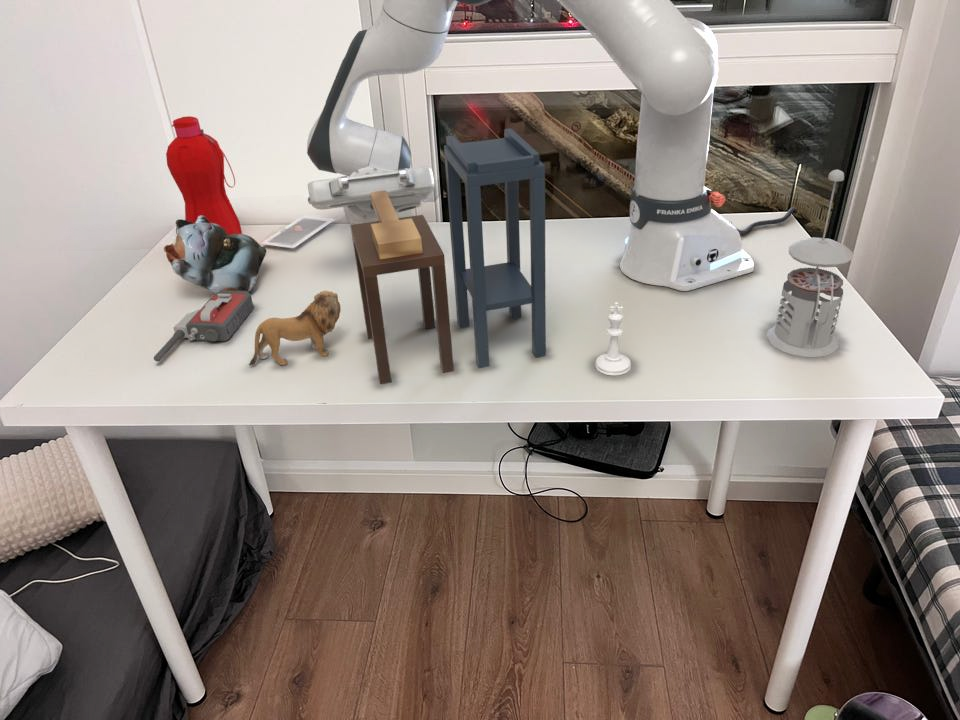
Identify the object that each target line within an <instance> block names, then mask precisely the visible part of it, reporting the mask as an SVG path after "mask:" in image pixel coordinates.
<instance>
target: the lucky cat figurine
mask: <svg viewBox="0 0 960 720" xmlns="http://www.w3.org/2000/svg"><path fill="white" fill-rule="evenodd" d="M175 225H176V226H175V238H174V239H175V240H174V241H173V243H170V244H166V245H165V246H164V247H163V251H164V253H166V254H165V255H166V259H167V261H168V262H169V263H170V266H171V268H172V271H173V273H174V274H176V275H178V276H179V277H181V279H183V280H185V281H188V282H190V283H192V284H193V285H197V286H199V287H201V288H203V289H206V290H208V291H209V292H212V293H214V294H216V293H218V292H219V291H222V290H227V291H247V292H251V291H252V289H253V288H254V287H255V286H256V284H257V282H258V278H259V271H260V268H261V266H262V264H263V262H264V259H265V258H266V256H267V255H266V254H267V248H266V247H265V246H262V245H261V244H260V243H259V242H257V240H255V239H254V238H253V237H252V236H250V235H247V234H243V233H242V234H232V235H228V234H227V232H226V231H225V229H224V228H222V227H221V226H220V225H218V224H214V223H210V222H209V221H208V219H207V218H206V217H205V216H202V215H201V216H198V219H197V221H196V222H195V223H193V222H188V221H186V220H185V219H180V218H179V219H176V221H175Z"/></svg>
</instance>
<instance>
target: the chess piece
mask: <svg viewBox="0 0 960 720" xmlns="http://www.w3.org/2000/svg"><path fill="white" fill-rule="evenodd" d="M623 309H624V307H623V306H619V302H618V301H614V305H609V311H611V312H610V313H608V315H607V318H608V322H609V325H610V327H608V328H607V330H606V334H607V335H609V336H610V338H609V339H610V340H609V345H608V350H607V352H606V353H602V354H600V355H598V356H597V358H596V360H595V363H594V366H595V369H596V370H597V371H598V372H599V373H601V374H603V375H607V376H614V377H615V376H623V375H625V374H627V373H628V372H630V370H631V368H632V365H631V364H632V363H631V360H630V358H629V357H628V356H627V355H625V354H621V353H620V344H619V343H620V342H619V336H621V335H623V333H624V332H623V329H622V328H621V327H620V326H621V324H622V321H623V319H624V315H623V314H622V313H620V312H623Z"/></svg>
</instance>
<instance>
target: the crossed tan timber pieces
mask: <svg viewBox="0 0 960 720" xmlns="http://www.w3.org/2000/svg"><path fill="white" fill-rule="evenodd" d="M370 195H371V202H372V206H373V208H374V211H375V213H376V216H377V219H378V221H379V223H375V224H371V230H372V237H373V241H374V244H375V247H376V250H377V253H378V255H379V258H380V259H387V258H394V257H400V256H407V255H414V254H420V253H423V250H422V240H421V236H420V234H419V232H418V230H417V228H416V226H415V224H414V222H413V220H412V218H410V219H403V220H399V218H400V217H399V216H398V213H396V212H395V209H394V207H393V205H392V203H391V200H390V198H389V196H388V194H387V191H386V190H384V191H376V192H370Z"/></svg>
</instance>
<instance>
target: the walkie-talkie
mask: <svg viewBox="0 0 960 720" xmlns="http://www.w3.org/2000/svg"><path fill="white" fill-rule="evenodd" d="M253 309H254V303H253V299H252V295H251V294H250V291H248V292H247V291H227V290H222V291H219V292H218V293H216V294H215V293H214V294H213V295H212V296H210V298H209V299H208V301H206V303H205V304H204V305H203V306H202V307H201V308H200V309H197V310H194V311H191V312H188V313H187V314H185V315H184V316H183V317H182V319H181V320H180V321H179V322H178V323H176V324H175V325H174V326H173V327H172V328H173V332H174V333H173V335H172V336H171V337H170V339H169V340H168V341H167V342H166V343H165V344H164V345H163V346H162V347H161V348H160V349H159V350H158V352H157V353H156V354H155V355H154V356H153V360H154V361H155V362H161V361H162V360H163V358H164V357H166V355H167V354H168V353H169V352H170V350H172V348H173V347H175V345H176V344H177V343H178V342H179V341H181V340H182V339H188V340H189V341H190V342H191V341H198V342H203V341H204V342H227V341H228V340H230V338H231V337H232V336H233V334H234V333H235V332H236V331H237V329H239V327H240V325H242V323H243V322H244V320H245V319H246V318H247V317H248V316H249V314H250V313H251V312H252V311H253Z"/></svg>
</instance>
